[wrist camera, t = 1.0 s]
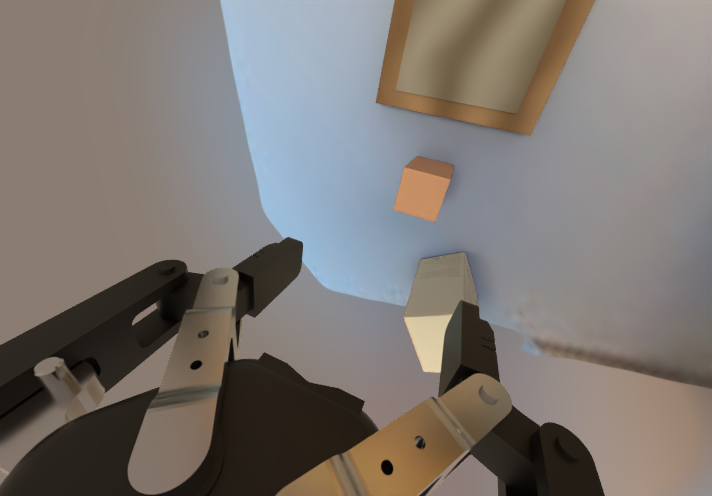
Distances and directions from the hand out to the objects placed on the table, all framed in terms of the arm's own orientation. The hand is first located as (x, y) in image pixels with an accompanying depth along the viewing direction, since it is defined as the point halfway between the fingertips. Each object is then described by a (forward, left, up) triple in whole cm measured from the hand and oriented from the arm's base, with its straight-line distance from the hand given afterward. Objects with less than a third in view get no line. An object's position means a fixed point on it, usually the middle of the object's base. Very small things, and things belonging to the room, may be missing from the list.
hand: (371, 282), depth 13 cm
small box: (-7, +13, -24) cm, 29 cm away
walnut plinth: (0, -13, -24) cm, 27 cm away
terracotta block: (0, 0, -24) cm, 24 cm away
